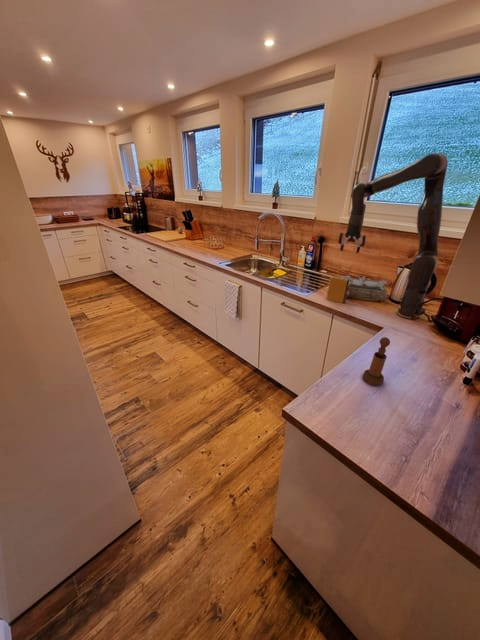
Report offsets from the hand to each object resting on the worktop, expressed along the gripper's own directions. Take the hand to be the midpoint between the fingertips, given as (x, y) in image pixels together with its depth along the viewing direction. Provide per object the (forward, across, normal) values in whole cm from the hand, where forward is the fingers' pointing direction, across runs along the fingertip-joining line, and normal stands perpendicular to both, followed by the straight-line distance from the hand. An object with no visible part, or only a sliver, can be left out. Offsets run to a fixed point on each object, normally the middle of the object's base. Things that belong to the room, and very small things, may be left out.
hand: (349, 252), depth 155 cm
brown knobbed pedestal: (+26, +30, -78) cm, 87 cm away
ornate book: (+26, +12, +5) cm, 29 cm away
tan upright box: (+26, 0, -14) cm, 29 cm away
